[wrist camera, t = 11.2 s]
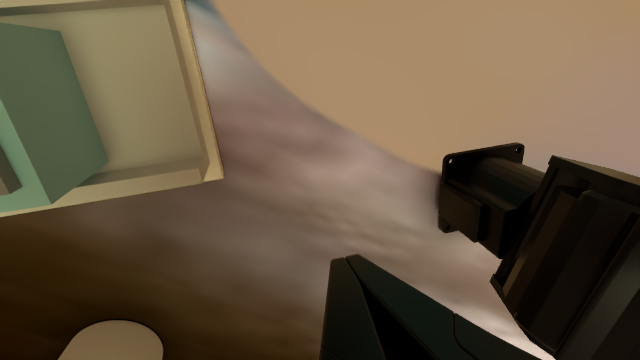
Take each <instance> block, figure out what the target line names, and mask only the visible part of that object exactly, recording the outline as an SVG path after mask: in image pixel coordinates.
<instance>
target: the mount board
mask: <svg viewBox="0 0 640 360" xmlns="http://www.w3.org/2000/svg"><path fill="white" fill-rule="evenodd" d="M0 22H2V23H8V24H15V25H22V26H29V27H36V28H43V29H49V30H56V31H60V33H61V35H62V38H63V41H64V43H65V46H66V49H67V51H68V54H69V57H70V59H71V62H72V65H73V67H74V70H75V73H76V75H77V78H78V81H79V83H80V86H81V89H82V91H83V94H84V96H85V99H86V102H87V104H88V107H89V110H90V112H91V115H92V118H93V120H94V123H95V126H96V128H97V131H98V134H99V136H100V139H101V142H102V144H103V147H104V150H105V152H106V155H107V158H108V160H109V163H107V164H106V165H105V166H103V167H102V168H101V169H99V170H98V171H96V172H95V173H94V174H92V175H91V176H90V177H88V178H87V179H86V180H84V181H83V182H82V183H80V184H79V185H78V186H76V187H75V188H73V189H72V190H71V191H69V192H68V193H67V194H65V195H64V196H63V197H61V198H60V199H59V200H57V201H56V202H54V203H53V204H52V205H47V206H41V207H34V208H28V209H22V210H15V211H9V212H3V213H0V217H3V216H9V215H15V214H21V213H27V212H33V211H39V210H45V209H51V208H57V207H63V206H69V205H75V204H81V203H87V202H93V201H99V200H106V199H112V198H118V197H124V196H130V195H136V194H142V193H148V192H154V191H160V190H166V189H172V188H178V187H184V186H190V185H196V184H202V183H203V182H205V181H211V180H217V179H223V176H224V170H223V166H222V162H221V158H220V153H219V149H218V145H217V140H216V136H215V132H214V128H213V123H212V119H211V115H210V111H209V106H208V102H207V98H206V93H205V89H204V85H203V81H202V76H201V72H200V68H199V64H198V59H197V55H196V51H195V47H194V42H193V38H192V34H191V29H190V25H189V21H188V17H187V12H186V8H185V4H184V0H0Z"/></svg>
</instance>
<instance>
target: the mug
mask: <svg viewBox="0 0 640 360" xmlns="http://www.w3.org/2000/svg"><path fill="white" fill-rule="evenodd" d="M162 357H163V346H162V343H161V341H160V339H159V337H158V336H157V335H156V334H155V333H154V332H153V331H152V330H151V329H149V328H147V327H146V326H144V325H141V324H139V323H135V322H131V321H125V320H110V321H104V322H99V323H96V324H93V325H91V326H89V327H87V328H85V329H83V330H82V331H80V332H79V333H78V334H77V335H76V336H75V337H74V338H73V339H72V340H71V342H70V343H69V344H68V346H67V347H66V349H65V350H64V352H63V353H62V355H61V356H60V357H59V359H58V360H162Z"/></svg>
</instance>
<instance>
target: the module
mask: <svg viewBox="0 0 640 360" xmlns="http://www.w3.org/2000/svg"><path fill="white" fill-rule="evenodd" d="M107 163H109V160H108V158H107V155H106V152H105V150H104V147H103V144H102V142H101V139H100V136H99V134H98V131H97V128H96V126H95V123H94V120H93V118H92V115H91V112H90V110H89V107H88V104H87V102H86V99H85V96H84V94H83V91H82V89H81V86H80V83H79V81H78V78H77V75H76V73H75V70H74V67H73V65H72V62H71V59H70V57H69V54H68V51H67V49H66V46H65V43H64V41H63V38H62V35H61V33H60V31H56V30H49V29H43V28H36V27H29V26H22V25H15V24H8V23H2V22H0V213H3V212H9V211H15V210H22V209H28V208H34V207H41V206H47V205H52V204H53V203H54V202H56V201H57V200H59V199H60V198H61V197H63V196H64V195H65V194H67V193H68V192H69V191H71V190H72V189H73V188H75V187H76V186H78V185H79V184H80V183H82V182H83V181H84V180H86V179H87V178H88V177H90V176H91V175H92V174H94V173H95V172H96V171H98V170H99V169H101V168H102V167H103V166H105V165H106V164H107Z"/></svg>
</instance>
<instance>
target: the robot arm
mask: <svg viewBox="0 0 640 360" xmlns="http://www.w3.org/2000/svg"><path fill="white" fill-rule="evenodd" d="M516 149H517V151H516ZM523 155H524V145H523V144H520V143H511V144H505V145H498V146H493V147H487V148H481V149H475V150H469V151H464V152H458V153H452V154H448V155H446V156H445V157H444V159H443V165H442V182H441V186H440V199H439V229H440V230H441V231H442V232H444V233H449V232H454V231H460V232H461V233H463V234H464V235H465V236H466V237H468V238H469V239H470V240H471V241H472V242H474V243H476V242H479V243H480V244H481V245H482V246H484V247H485V248H486V249H487V250H489V251H490V252H491V253H492V254H494V255H495V256H496V257H498V258H499V259H502V261H501V263H500V265H499V267H498V269H497V271H496V273H495V274H493V275H492V277H491V279H490V283H491V284H492V286H493V288H494V289H495V291H496V292H497V294H498V295H499V297H500V298H501V300H502V301H503V303H504V304H505V306H506V307H507V309H508V310H509V312H510V314H511V315H512V317H513V318H514V320H515V321H516V323H517V324H518V326H519V327H520V329H521V330H522V331H523V332H524V334H525V335H526V336H527V337H528V339H529V340H530V341H531V342H532V343H534V344H536V345H537V346H539V347H540V348H541V349H543V350H544V351H545V352H547V353H548V354H550V355H551V356H553V357H554V359H556V360H640V178H639V177H636V176H633V175H629V174H626V173H623V172H619V171H616V170H612V169H609V168H605V167H601V166H596V165H592V164H588V163H583V162H579V161H575V160H570V159H566V158H562V157H557V156H554V155H552V157H551V158H550V161H549V162H548V164H549V167H548V169H547V171H546V173H543V172H541V171H538V170H536V169H533V168H531V167H528V166H525V165H523V164H522V161H523ZM451 159H452V162H451V163H449V161H450V160H451ZM446 225H447V226H446ZM445 226H446V227H445ZM319 360H541V359H539V358H537V357H535V356H533V355H531V354H529V353H527V352H525V351H523V350H521V349H519V348H518V347H516V346H514V345H512V344H510V343H508V342H506V341H504V340H502V339H500V338H498V337H496V336H495V335H493V334H491V333H489V332H487V331H485V330H484V329H482V328H480V327H479V326H477V325H475V324H473V323H472V322H470V321H468V320H467V319H465V318H463V317H462V316H460V315H458V314H457V313H454V312H453V311H452V310H450V309H448V308H447V307H445V306H443V305H442V304H440V303H438V302H437V301H435V300H433V299H432V298H430V297H428V296H427V295H425V294H424V293H422V292H420V291H419V290H417V289H415V288H414V287H412V286H410V285H409V284H407V283H405V282H404V281H402V280H400V279H399V278H397V277H396V276H394V275H392V274H391V273H389V272H387V271H386V270H384V269H382V268H381V267H379V266H377V265H376V264H374V263H372V262H371V261H369V260H368V259H366V258H364V257H363V256H361V255H359V254H354V255H350V256H346V257H345V258H344V257H341V258H336V259H332V260H331V264H330V272H329V281H328V289H327V298H326V307H325V315H324V324H323V332H322V341H321V350H320V356H319Z"/></svg>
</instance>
